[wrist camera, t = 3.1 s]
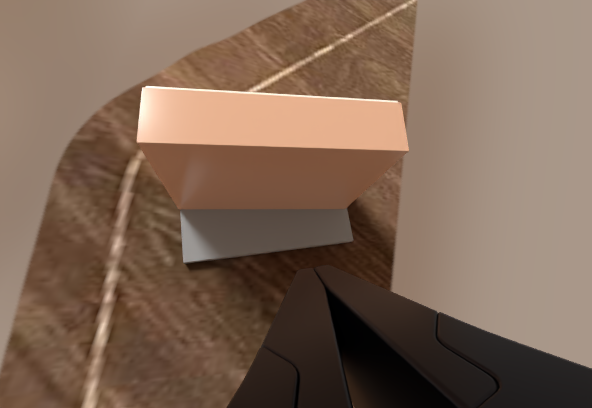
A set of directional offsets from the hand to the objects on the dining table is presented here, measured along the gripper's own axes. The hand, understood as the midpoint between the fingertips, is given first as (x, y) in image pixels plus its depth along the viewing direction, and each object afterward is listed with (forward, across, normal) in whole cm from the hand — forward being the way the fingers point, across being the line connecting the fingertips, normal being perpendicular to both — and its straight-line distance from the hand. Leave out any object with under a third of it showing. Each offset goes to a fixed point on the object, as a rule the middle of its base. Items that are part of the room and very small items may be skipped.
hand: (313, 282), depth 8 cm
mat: (+15, -1, -3) cm, 15 cm away
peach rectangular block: (+14, -1, -3) cm, 14 cm away
